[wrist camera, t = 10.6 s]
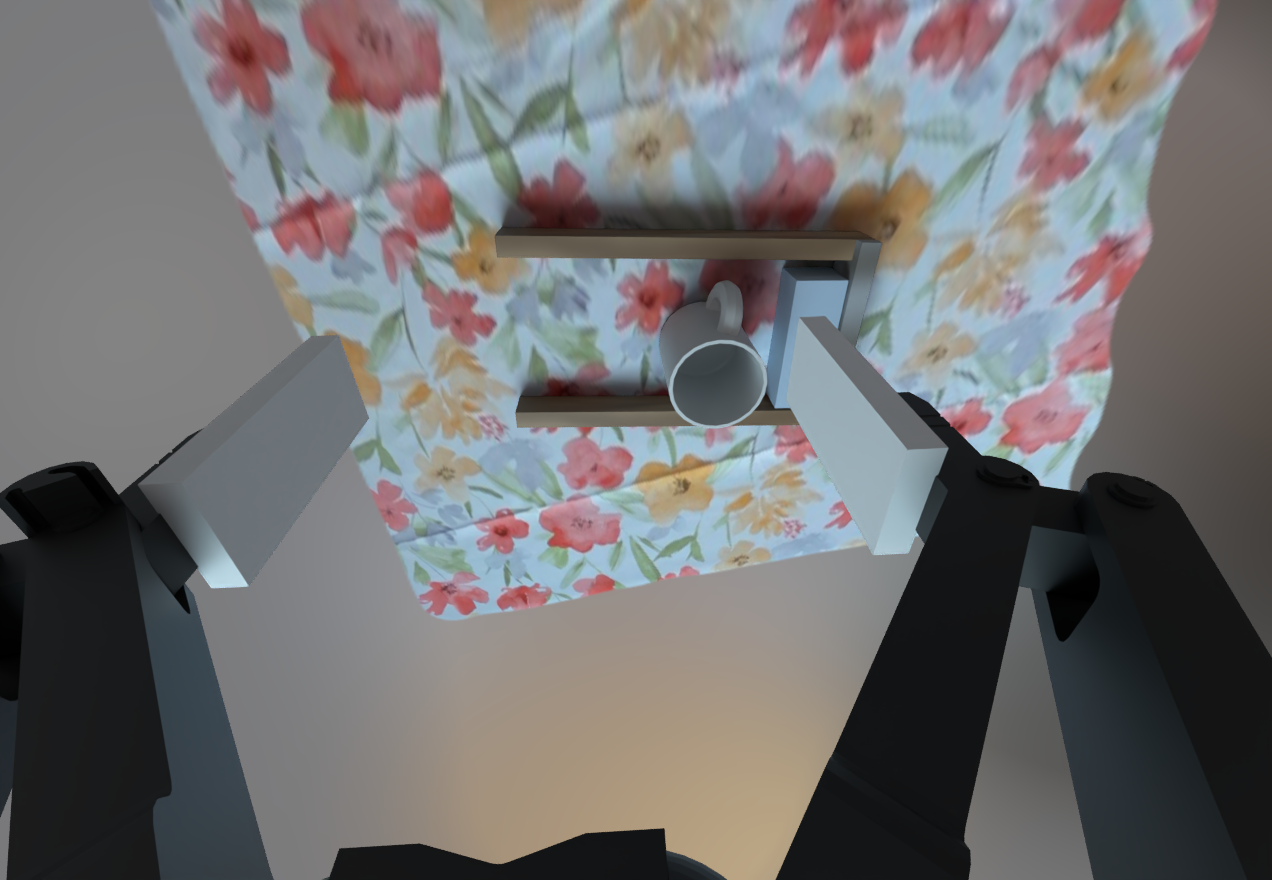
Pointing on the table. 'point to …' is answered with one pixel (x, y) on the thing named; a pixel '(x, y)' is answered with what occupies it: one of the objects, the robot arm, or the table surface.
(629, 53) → the table surface
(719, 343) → the cup
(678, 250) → the channel
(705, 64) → the table surface
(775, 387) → the block
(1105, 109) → the table surface
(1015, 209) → the table surface
